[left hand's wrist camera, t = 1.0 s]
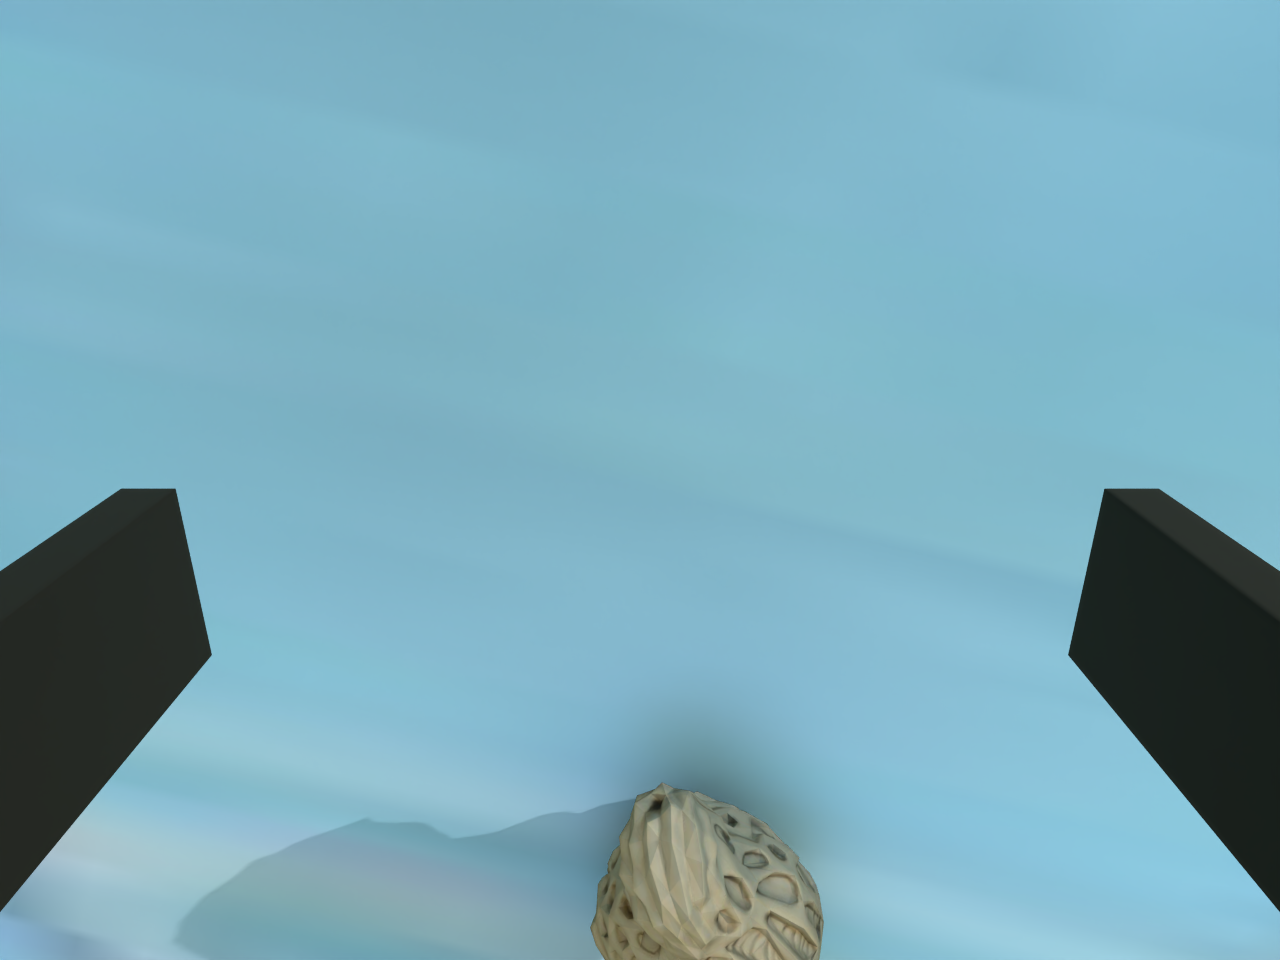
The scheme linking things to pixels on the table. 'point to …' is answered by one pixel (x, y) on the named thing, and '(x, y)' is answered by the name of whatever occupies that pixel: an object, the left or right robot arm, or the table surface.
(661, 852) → the teapot
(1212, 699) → the left robot arm
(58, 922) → the table surface
